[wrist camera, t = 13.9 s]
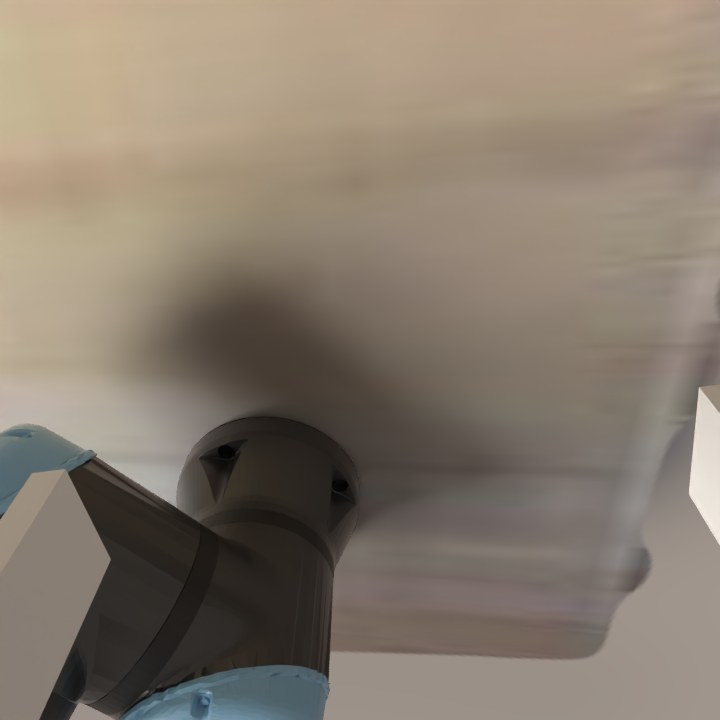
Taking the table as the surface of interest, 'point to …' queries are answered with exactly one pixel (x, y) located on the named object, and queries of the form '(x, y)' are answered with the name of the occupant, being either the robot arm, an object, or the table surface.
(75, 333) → the table surface
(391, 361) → the table surface
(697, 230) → the table surface
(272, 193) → the table surface
